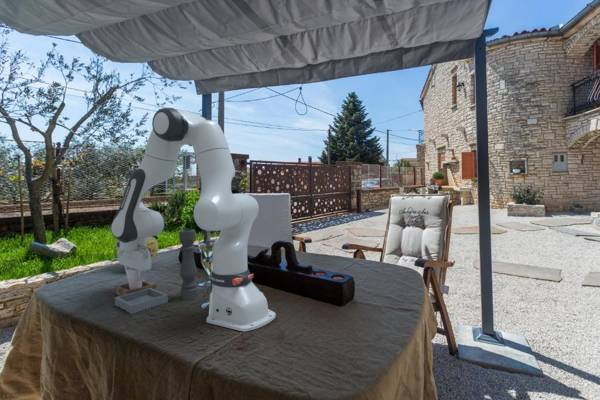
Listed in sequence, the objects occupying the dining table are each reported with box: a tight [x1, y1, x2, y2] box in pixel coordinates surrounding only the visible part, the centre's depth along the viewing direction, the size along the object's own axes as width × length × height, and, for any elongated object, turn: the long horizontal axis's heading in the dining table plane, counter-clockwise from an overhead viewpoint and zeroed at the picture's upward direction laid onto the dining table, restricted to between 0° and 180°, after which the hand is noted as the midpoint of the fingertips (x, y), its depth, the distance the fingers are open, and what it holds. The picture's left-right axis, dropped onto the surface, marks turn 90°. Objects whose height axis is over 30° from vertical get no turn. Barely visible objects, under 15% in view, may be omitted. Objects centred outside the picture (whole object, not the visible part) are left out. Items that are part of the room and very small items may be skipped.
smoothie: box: [125, 268, 142, 290], centre depth 125 cm, size 6×6×14 cm
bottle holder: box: [114, 279, 157, 296], centre depth 125 cm, size 11×11×3 cm
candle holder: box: [178, 229, 199, 301], centre depth 119 cm, size 6×6×25 cm
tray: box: [114, 288, 169, 315], centre depth 114 cm, size 13×13×3 cm
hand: (135, 278), depth 125 cm, fingers open, 8 cm apart
